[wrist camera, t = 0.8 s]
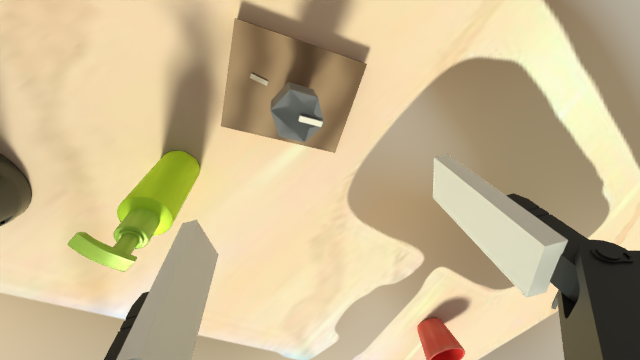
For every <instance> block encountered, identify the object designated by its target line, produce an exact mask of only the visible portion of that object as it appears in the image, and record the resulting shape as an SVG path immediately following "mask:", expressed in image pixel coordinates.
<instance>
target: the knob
mask: <svg viewBox="0 0 640 360" xmlns="http://www.w3.org/2000/svg"><path fill="white" fill-rule="evenodd" d="M270 111H271V114H272V117H273V120H274V123H275V126H276V129H277V132H278V135H279V137H283V138H288V139H292V140H296V141H300V142H306V141H307V140H308V139H309V138H310V137H311V136H312V135H313V134H315V133H316V132H317V131H318V130H319V129H320V128H321V127H322V126H323V125H324V121H323V117H322V112H321V108H320V103H319V99H318V96H317V95H316V93H315V92H314V90H313V89H311V88H307V87H304V86H301V85H297V84H294V83H291V82H288V83H287V84H286V85H285V86H284V87H283V88H282V89H281V90H280V91H279V93H278V94H277V95H276V96H275V97H274V98H273V99H272V100H271V108H270Z"/></svg>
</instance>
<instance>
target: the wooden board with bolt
mask: <svg viewBox="0 0 640 360" xmlns="http://www.w3.org/2000/svg"><path fill="white" fill-rule="evenodd" d="M366 65H367V64H365V63H362V62H359V61H356V60H354V59H351V58H348V57H345V56H342V55H339V54H336V53H333V52H331V51H328V50H325V49H322V48H319V47H316V46H313V45H311V44H308V43H305V42H302V41H299V40H296V39H293V38H290V37H288V36H285V35H282V34H279V33H276V32H273V31H270V30H267V29H265V28H262V27H259V26H256V25H253V24H250V23H247V22H244V21H242V20H239V19H236V18H235V22H234V29H233V37H232V45H231V52H230V60H229V68H228V75H227V83H226V91H225V99H224V106H223V114H222V122H221V126H222V127H226V128H231V129H235V130H239V131H244V132H248V133H252V134H257V135H261V136H265V137H269V138H274V139H278V140H282V141H287V142H291V143H295V144H299V145H304V146H308V147H312V148H317V149H321V150H325V151H330V152H334V153H335V151H336V149H337V146H338V143H339V140H340V137H341V135H342V132H343V129H344V126H345V124H346V121H347V118H348V115H349V112H350V110H351V107H352V104H353V101H354V99H355V96H356V93H357V90H358V88H359V85H360V82H361V79H362V76H363V74H364V71H365V68H366ZM288 82H291V83H294V84H297V85H301V86H304V87H307V88H311V89H313V90H314V92H315V93H316V95H317V96H318V99H319V103H320V108H321V112H322V117H323V121H324V125H323V126H322V127H321V128H320V129H319V130H318V131H317V132H316V133H315V134H313V135H312V136H311V137H310V138H309V139H308V140H307V141H306V142H300V141H296V140H292V139H288V138H283V137H279V135H278V132H277V129H276V126H275V123H274V120H273V117H272V114H271V111H270V108H271V100H272V99H273V98H274V97H275V96H276V95H277V94H278V93H279V91H280V90H281V89H282V88H283V87H284V86H285V85H286V84H287V83H288Z"/></svg>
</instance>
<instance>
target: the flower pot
mask: <svg viewBox="0 0 640 360" xmlns="http://www.w3.org/2000/svg"><path fill="white" fill-rule="evenodd" d="M418 333H419V337H420V340H421V343H422V347H423V350H424V353H425V356H426V359H427V360H461V359H462V358H463V357H464V355H465V351H464V349H463V348H462V346H461V345H460V344H459V342H458V341H457V340H456V339H455V337H454V336H453V335H452V333H451V332H450V331H449V330H448V329H447V327H446V326H445V325H444V324H443V322H442V321H441V320H440V319H438V318H430V319H427V320H424V321H423V322H421V323H420V324H419V326H418Z"/></svg>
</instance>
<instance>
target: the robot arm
mask: <svg viewBox="0 0 640 360" xmlns="http://www.w3.org/2000/svg"><path fill="white" fill-rule="evenodd" d="M433 198H434V199H435V200H436V202H437V203H439V205H440V206H441V207H442V208H443V209H444V210H445V211H446V212H447V213H448V214H449V215H450V216H451V218H452V219H453V220H454V221H455V222H456V223H457V224H458V225H459V226H460V227H461V228H462V229H463V230H464V231H465V233H466V234H467V235H468V236H469V237H470V238H471V239H472V240H473V241H474V242H475V243H476V244H477V245H478V246H479V247H480V249H481V250H482V251H483V252H484V253H485V254H486V255H487V256H488V257H489V258H490V259H491V260H492V261H493V263H495V265H496V266H497V267H498V268H499V269H500V270H501V271H502V272H503V273H504V274H505V275H506V276H507V277H508V278H509V280H510V281H512V283H513V284H514V285H515V286H516V287H517V288H518V289H519V290H520V291H521V292H522V294H523V295H524V296H525V297H526V298H527V297H530V296H534V295H538V294H541V293H545V292H546V291H547V288H548V286H549V284H550V282H551V283H552V284H553V285H554V286H555V287H556V288H558V289H559V290H558V292H557V294H556V297H555V299H554V301H553V303H552V307H551V308H553V309H556V307H557V305H558V308H559V317H560V325H561V333H562V342H563V350H564V357H565V360H640V251H628V250H626V249H625V248H623V247H620V246H618V245H616V244H614V243H610V242H606V241H601V240H589V239H587V238H585V237H584V236H582V235H581V234H579V233H578V232H576V231H575V230H573V229H572V228H570V227H569V226H567V225H566V224H565V223H563V222H562V221H560V220H558V219H557V218H556V217H554V216H553V215H549V213H548V212H547V211H545V210H544V209H542V208H539V206H538V205H536V204H534V203H533V202H532V201H530V200H529V199H527V198H524V197H521V196H519V195H516V194H510V195H504V194H503V193H502V192H500V191H499V190H498V189H496V188H495V187H493V186H492V185H491V184H489V183H488V182H486V181H485V180H484V179H482V178H481V177H479V176H478V175H477V174H475V173H474V172H473V171H471V170H470V169H468V168H467V167H466V166H464V165H463V164H461V163H460V162H459V161H457V160H456V159H454V158H453V157H452V156H450V155H449V154H445V155H441V156H437V157H434V180H433ZM30 201H31V190H30V187H29V184H28V182H27V180H26V179H25V177H24V176H23V174H22V173H21V172H20V171H19V169H18V168H17V167H16V166H15V165H14V164H12V163H11V162H10V161H9V160H8V159H6V158H5V157H4V156H2V155H1V154H0V226H2V225H4V224H7V223H8V222H10V221H12V220H13V219H15V218H16V217H17V216H19V215H20V214H22V213H23V212H24V211H25V210H26V209H27V208H28V206H29V204H30ZM217 258H218V253H217V252H216V250H215V249H214V247H213V245H212V244H211V242H210V241H209V239H208V237H207V236H206V234H205V233H204V231H203V229H202V228H201V226H200V224H199V223H198V221H197V220H194V221H190V222H186V223H183V224H182V226H181V228H180V230H179V232H178V234H177V236H176V238H175V240H174V242H173V244H172V246H171V248H170V250H169V252H168V254H167V256H166V259H165V261H164V263H163V265H162V267H161V269H160V271H159V273H158V275H157V277H156V279H155V281H154V283H153V285H152V287H151V289H150V291H149V292H146V293H143V294H142V295H141V296H140V297H139V298H138V299H137V301H136V302H135V303H134V304H133V305H132V307H131V309H130V311H129V313H128V315H127V317H126V321H124V322H123V324H122V326H121V328H120V332H118V334H117V336H116V338H115V340H114V342H113V343H112V345H111V347H110V349H109V351H108V353H107V355H106V357H105V359H104V360H191V358H192V354H193V350H194V347H195V343H196V339H197V335H198V331H199V327H200V323H201V320H202V316H203V312H204V308H205V304H206V300H207V297H208V293H209V289H210V285H211V281H212V277H213V273H214V270H215V266H216V262H217Z"/></svg>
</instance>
